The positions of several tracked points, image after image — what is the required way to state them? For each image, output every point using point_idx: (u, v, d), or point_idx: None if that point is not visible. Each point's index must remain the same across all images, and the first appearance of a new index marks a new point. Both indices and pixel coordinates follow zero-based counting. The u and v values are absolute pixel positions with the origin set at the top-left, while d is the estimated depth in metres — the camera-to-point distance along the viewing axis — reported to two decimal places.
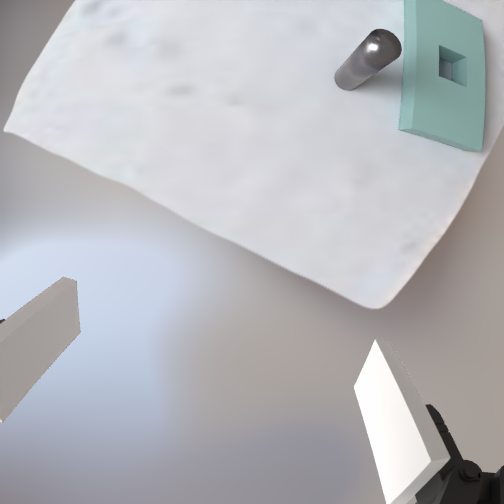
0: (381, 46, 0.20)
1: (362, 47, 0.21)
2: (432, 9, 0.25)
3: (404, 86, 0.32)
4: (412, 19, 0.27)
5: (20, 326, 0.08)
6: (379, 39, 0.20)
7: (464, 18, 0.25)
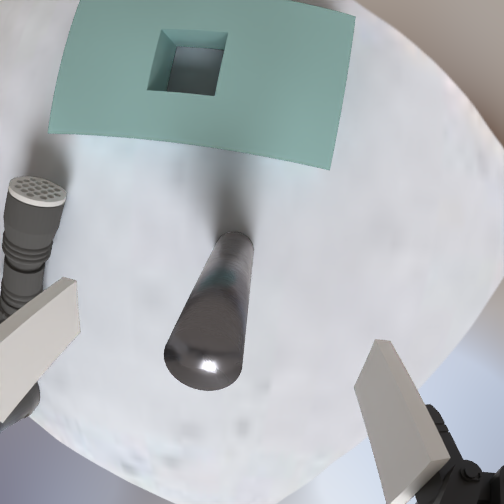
0: (209, 369, 0.11)
1: None
2: (76, 99, 0.18)
3: None
4: None
5: (20, 326, 0.08)
6: (192, 370, 0.11)
7: (81, 33, 0.16)
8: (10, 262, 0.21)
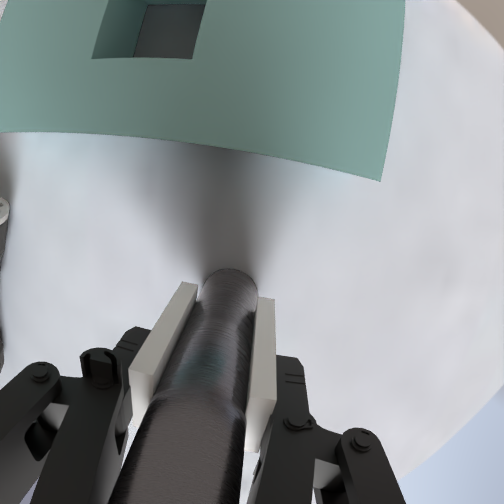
0: None
1: None
2: (6, 83, 0.10)
3: None
4: None
5: (174, 332, 0.10)
6: None
7: None
8: None
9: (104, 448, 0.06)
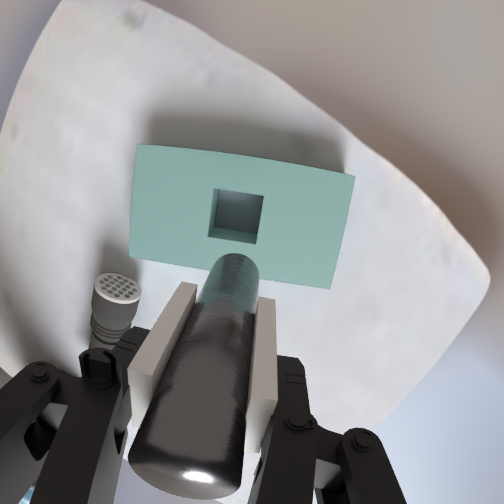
0: (193, 482, 0.07)
1: None
2: (151, 235, 0.29)
3: None
4: None
5: (173, 332, 0.10)
6: (170, 480, 0.07)
7: (145, 179, 0.28)
8: (100, 338, 0.33)
9: (103, 448, 0.06)
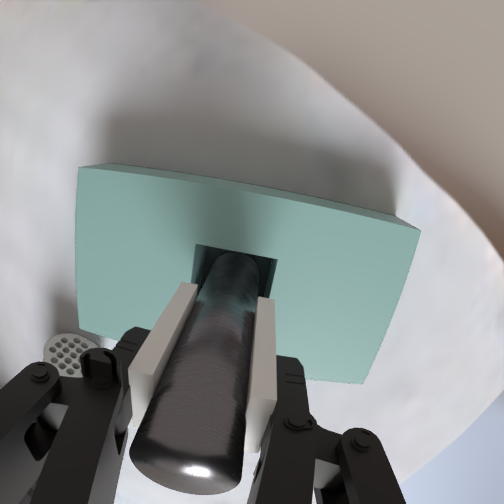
0: (194, 477, 0.07)
1: None
2: (105, 305, 0.19)
3: None
4: None
5: (174, 332, 0.10)
6: (171, 475, 0.07)
7: (92, 223, 0.17)
8: None
9: (104, 448, 0.06)
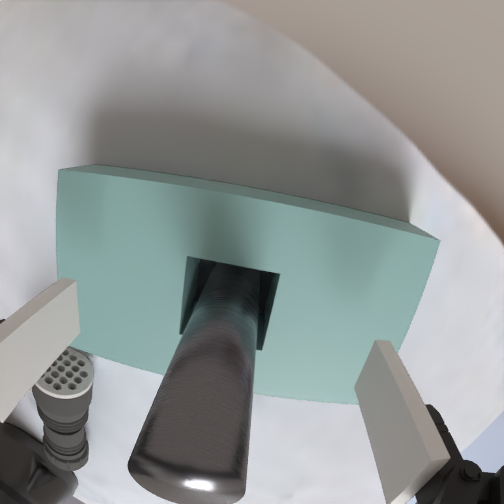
0: (196, 491, 0.06)
1: None
2: (91, 320, 0.16)
3: None
4: None
5: (20, 326, 0.08)
6: (172, 488, 0.06)
7: (73, 232, 0.15)
8: None
9: None
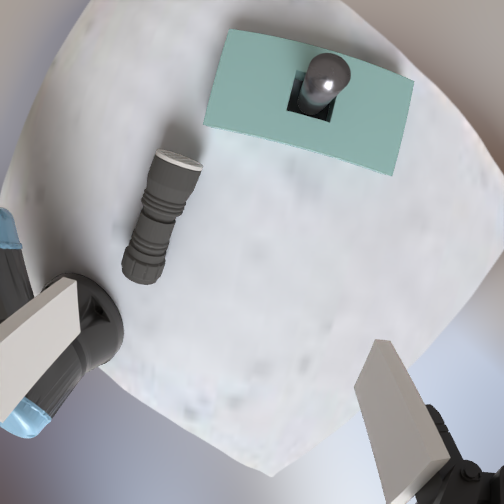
0: (333, 77, 0.19)
1: (324, 95, 0.21)
2: (230, 104, 0.29)
3: (333, 157, 0.33)
4: (248, 134, 0.31)
5: (20, 326, 0.08)
6: (323, 76, 0.19)
7: (233, 56, 0.27)
8: (151, 214, 0.33)
9: None
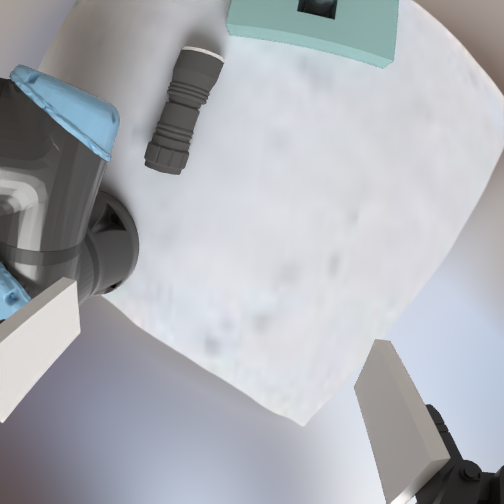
0: None
1: None
2: (249, 8, 0.28)
3: (340, 54, 0.33)
4: (265, 32, 0.30)
5: (20, 326, 0.08)
6: None
7: None
8: (177, 100, 0.32)
9: None
